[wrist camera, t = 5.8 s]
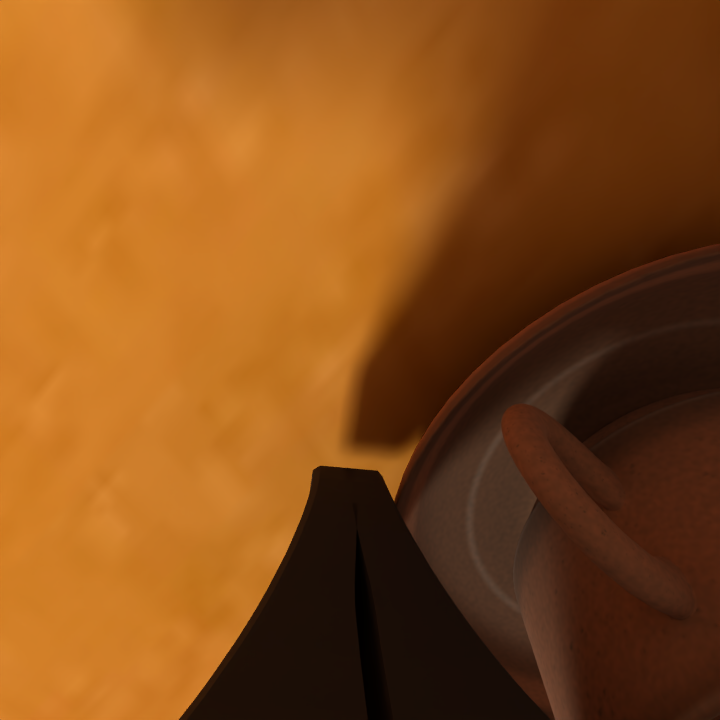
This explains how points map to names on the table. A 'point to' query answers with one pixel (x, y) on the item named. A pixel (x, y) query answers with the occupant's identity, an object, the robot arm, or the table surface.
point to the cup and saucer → (589, 498)
